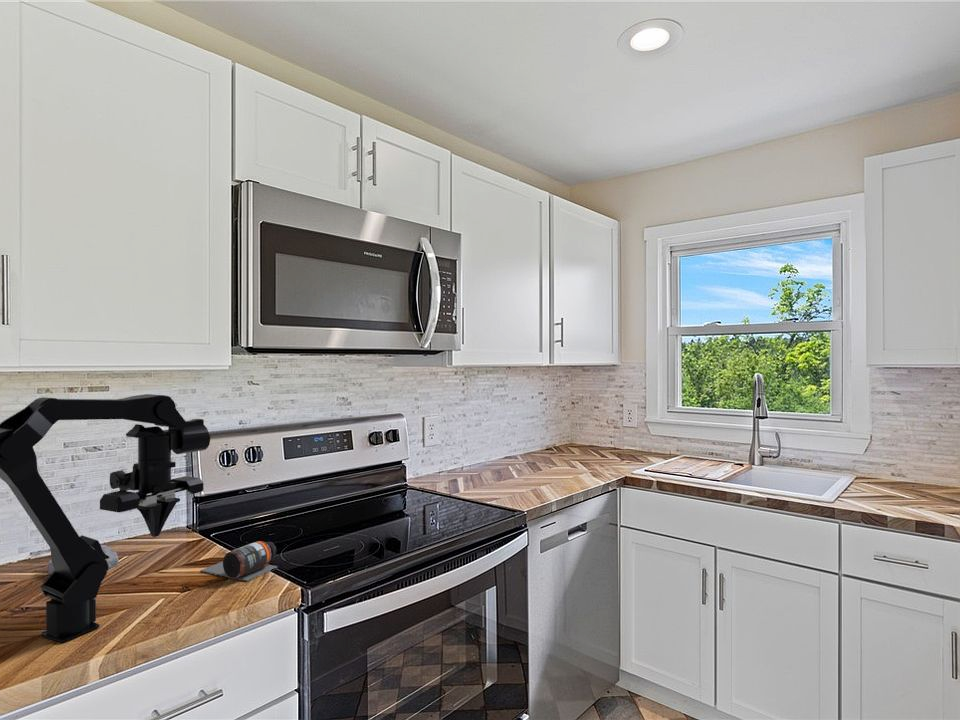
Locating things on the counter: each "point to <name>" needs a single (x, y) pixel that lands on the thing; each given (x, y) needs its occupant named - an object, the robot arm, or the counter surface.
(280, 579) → the counter surface
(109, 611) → the counter surface
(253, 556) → the supplement bottle
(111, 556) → the stone block
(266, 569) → the pad
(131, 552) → the counter surface
